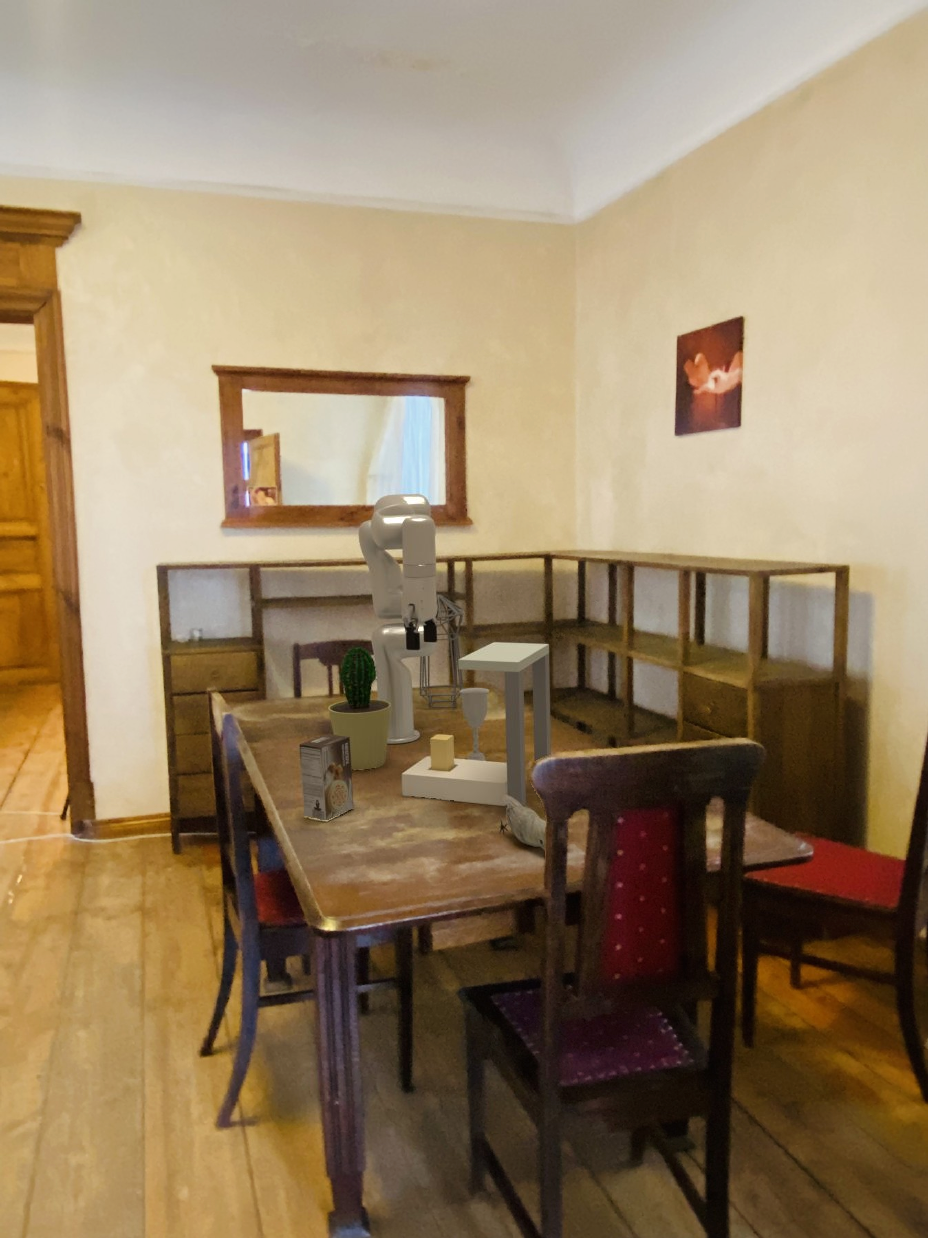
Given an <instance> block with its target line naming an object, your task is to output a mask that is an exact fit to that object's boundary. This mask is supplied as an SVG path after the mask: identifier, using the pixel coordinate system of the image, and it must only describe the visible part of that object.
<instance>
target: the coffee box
mask: <svg viewBox="0 0 928 1238" xmlns="http://www.w3.org/2000/svg"><path fill="white" fill-rule="evenodd" d="M299 759H300V771H301V773H300V774H301V785H302V787H301V788H302V800H303V803H302V804H303V817H304V816H308V817H311V818H317V819H320V820H329V819H331V818H333V817H335V816H338V815H339V814H341V813H344V812H345V811H348V810H350V809H353V808H354V806H355V805H354V790H353V789H354V788H353V775H352V773H353V770H352V768H351V752H350V737H346V736H339V735H334V734H328V733H326V734H324V735H321V736H319V737H315V738H313V739H310V740H307V741H305V742H301V743H299ZM353 810H354V809H353Z"/></svg>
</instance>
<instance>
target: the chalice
mask: <svg viewBox="0 0 928 1238" xmlns="http://www.w3.org/2000/svg"><path fill="white" fill-rule="evenodd" d="M489 692H490V690H489V689H488V688H484V687H469V688H463V689H462V690H460V691H459V693H461V695H460V696H461V704H462V705H461V709H462V713H463V717H464V719H465V720H466V722H467V725H468V726H469V727H470V728H471V729H473V734H472V738H473V742H472V745H473V750H472V752H470V753H469V754H468V757H467V760H478V761H487V760H486V757H485V756H484V753H483V752H482V751H480V750H479V745H480V742H479V736H480V734H479V732H478V729H480V728H481V727H482V725H483V723H484V721H485V719H486V717H487V713H488V710H489V709H488V707H489V705H488V695H489Z"/></svg>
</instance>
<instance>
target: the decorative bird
mask: <svg viewBox="0 0 928 1238" xmlns="http://www.w3.org/2000/svg"><path fill="white" fill-rule="evenodd" d="M502 800H503V801H504V803H505V804H506V806H507V807H506V809H505V816H506V822H505V823H503V821H502V819H499V820H500V826H499V827H500V828H499V829H500V830H499V833H498V834H500V835H501V832H503V835H504V834H505V831H507V832H509V830H508V828H506V827H507V826H508V827H510V830H511V832H512V833H513V834H514V836H515V837H516V838H517V840H518V841H519V842H521V843H523V844H524V845H526V846H528V845H529V846H531V847H535V848H537V847H540V848H542V849H543V851H545V827H546V822H547V821H545V820H544V819H542V818H541V817H540V816H539V815H538V813H536V811H535V810H533V808H530V807H529V806H527V805H526V806H524V805H521V804H520V803H519V802H518V801H517V800H515V799H514V798H513V797H511V796H508V795H505V796H504V798H502Z"/></svg>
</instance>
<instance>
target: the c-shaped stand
mask: <svg viewBox="0 0 928 1238" xmlns="http://www.w3.org/2000/svg"><path fill="white" fill-rule="evenodd" d="M458 659H459V658H458ZM458 663H459V669H461V670H464V671H465V670H468V671H470V670H471V671H488V672H490V671H493V672H504V704H505V705H504V706H505V743H506V745H505V746H506V749H505V751H506V763H507V794H508V796H511V797H513V798H514V799H515V800H517V801H518V802H519V803H520V804H521V805H524V806H527V793H526V792H527V791H526V789H527V784H526V782H527V781H526V744H525V743H526V741H525V740H526V739H525V738H526V737H525V736H526V735H525V699H524V698H525V697H524V692H525V690H524V688H525V687H524V669H526V668H527V667H529V666H530V665H532V668H531V669H532V704H533V705H532V706H533V707H532V709H533V712H532V713H533V755H534V757H533V758H534V759H533V760H534V761H536V760H538V759H540V758H542V757H545V756H549V755H551V756H552V751H551V750H552V742H551V739H552V737H551V736H552V735H551V692H550V690H551V689H550V688H551V687H550V686H551V684H550V683H551V680H550V679H551V678H550V644H549V643H527V642H502V641H501V642H499V641H498V642H497V641H494V642H492V643H490V644H488V645H485V646H483V647H481V648H480V649H477V650H476V651H473V652H470V653H469V654H467V655H465V656H463V657H460V659H459V660H458Z"/></svg>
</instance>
